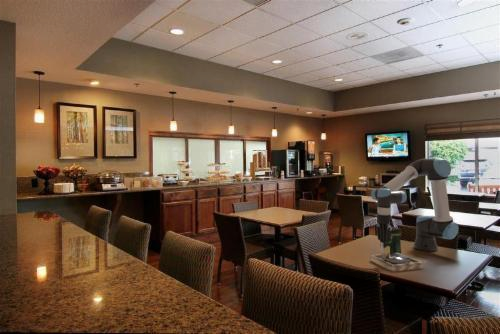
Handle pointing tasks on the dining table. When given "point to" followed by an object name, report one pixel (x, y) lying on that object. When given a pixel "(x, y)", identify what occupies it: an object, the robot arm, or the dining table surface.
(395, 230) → the coffee jar
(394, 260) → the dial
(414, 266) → the square tray
